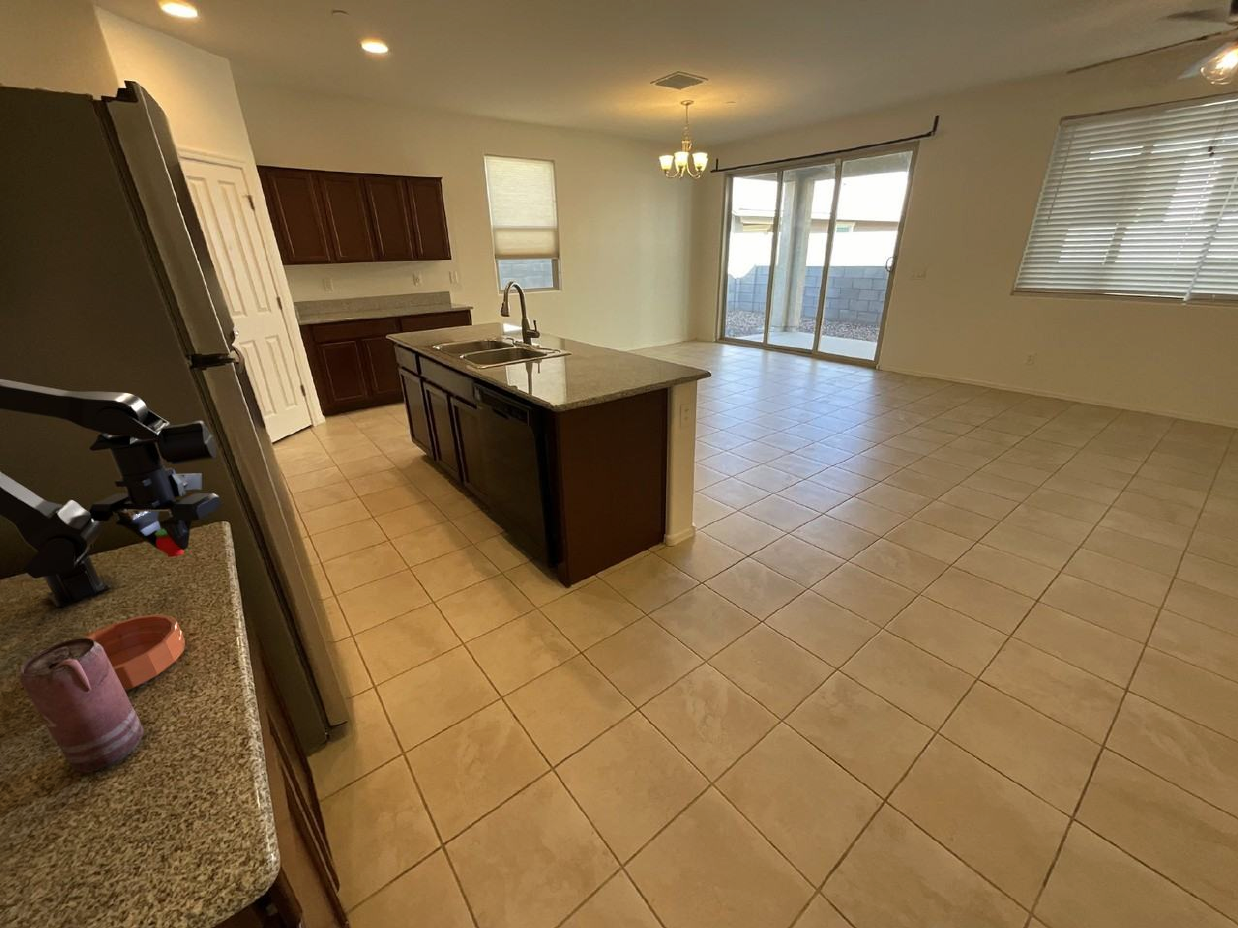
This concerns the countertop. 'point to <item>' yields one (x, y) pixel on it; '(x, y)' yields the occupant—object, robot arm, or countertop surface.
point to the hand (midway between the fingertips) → (173, 548)
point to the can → (82, 703)
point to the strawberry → (167, 544)
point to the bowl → (141, 647)
